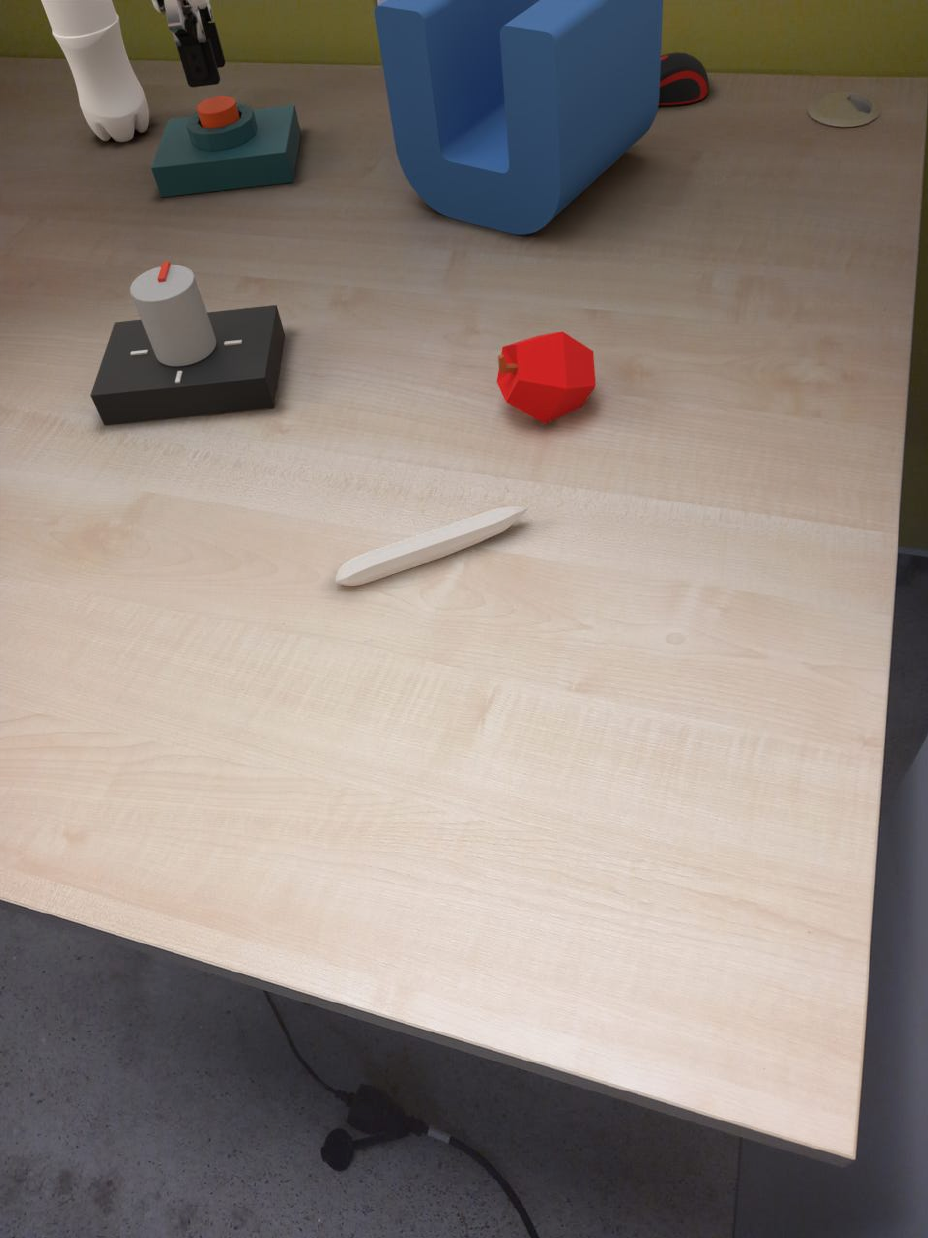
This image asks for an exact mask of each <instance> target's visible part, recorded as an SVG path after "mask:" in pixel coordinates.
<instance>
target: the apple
mask: <svg viewBox="0 0 928 1238" xmlns="http://www.w3.org/2000/svg"><path fill="white" fill-rule="evenodd" d="M594 356H595V355H594V351H593V350H592V349H590V348H589V347H588V346H586V345H584V344H583V343H582V342H580V341H579V340H577V339H576V338H573V337H572V336H571V335H569V334H567V333H566V332H565V331H557V332H556V331H555V332H551V333H545V334H540V335H536V336H533V337H529V338H526V339H523V340H520V341H517V342H513V343H510V344H507V345H504V346H502V347H501V352H500V354H499V355H497V361H498V370H497V376H496V384H497V386H498V388H499V391H500V392H501V395H502V397H503V399H504V402H505V403H506V404H508V405H509V406H511V407H513V408H515V409H517V410H518V411H520V412H522V413H524V414H525V415H527V416H528V417H529V416H530V417H531V418H533V419H535V420H537V421H538V422H540V423H542V424H544V425H545V424H548V423H550V422H553V421H554V420H557V419H559V418H561V417H563V416H565V415H568V414H570V413H573V412H574V411H577V410H579V409H581V408H583V406H584V404H585V402H586V401H587V399H588V398H589V397H590V395H591V394H592V392H593V391H594V390H595V387H596V386H597V383H596V371H595V370H596V369H595V357H594Z"/></svg>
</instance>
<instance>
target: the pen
mask: <svg viewBox="0 0 928 1238" xmlns="http://www.w3.org/2000/svg"><path fill="white" fill-rule="evenodd" d="M529 508H530V507H529V506H522V505H509V506H501V507H496V508H492V509H490V510H486V511H484V512H480V513H478V514H474V515H472V516H468V517H466V518H463V519H460V520H457V521H454V522H451V523H448V524H445V525H442V526H438V527H436V528H433V529H430V530H427V531H425V532H421V533H418V534H415V535H412V536H410V537H407V538H404V539H401V540H397V541H395V542H392V543H389V544H387V545H383V546H381V547H378V548H375V549H372V550H369V551H366V552H364V553H362V554H359V555H357V556H355V557H353V558H350V559H349V560H347V561H345V562H344V563H343V564H342V565H341V566H340V567H339V569H338V571H337V573H336V575H335V579H334V580H335V582H336V583H337V584H339V585H341V586H347V587H357V586H362V585H366V584H369V583H372V582H375V581H377V580H380V579H384V578H386V577H389V576H392V575H395V574H398V573H401V572H404V571H407V570H410V569H413V568H415V567H418V566H421V565H422V566H423V565H424V564H427V563H431V562H433V561H436V560H439V559H442V558H445V557H447V556H450V555H452V554H454V553H455V554H456V553H457V552H460V551H462V550H465V549H467V548H470V547H472V546H474V545H477V544H479V543H481V542H483V541H485V540H488V539H490V538H492V537H494V536H496V535H499V534H500V533H504V532H505V531H506V530H507V529H509V528H510V527H511V526H513V525H514V524H515V523H516V522H517V521H518V520H519V519H520V518H522V517H523V516H524V515H525V514H526V512H527V511H528V510H529Z"/></svg>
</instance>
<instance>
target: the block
mask: <svg viewBox="0 0 928 1238" xmlns="http://www.w3.org/2000/svg"><path fill="white" fill-rule="evenodd" d="M663 16H664V0H385V1H383V2H382V3H380V4H378V5H377V6H376V7H375V8H374V19H375V26H376V33H377V38H378V39H377V40H378V46H379V51H380V57H381V64H382V70H383V76H384V81H385V88H386V96H387V102H388V109H389V114H390V120H391V127H392V134H393V139H394V146H395V152H396V156H397V160H398V163H399V165H400V167H401V171H402V172H403V174H404V176H405V179H406V180H407V181H408V182H407V183H409V186H411V188H412V190H414V192H415V193H416V195H418V197H419V198H420V199H421V200H422V201H423V202H424V203H425V204H426V205H428V207H430V208H431V209H433V210H434V211H436V212H437V213H439V214H441V215H443V216H445V217H447V218H451V219H453V220H458V221H461V222H464V223H468V224H472V225H477V226H479V227H484V228H488V229H490V230H491V229H492V230H495V231H499V232H503V233H507V234H511V235H519V236H520V235H530V234H533V233H536V232H538V231H539V230H541V229H543V228H545V227H546V225H548V224H549V223H550V222H551V221H552V220H554V219H555V217H557V216H558V215H559V214H560V213H561V212H562V211H563V210H564V209H565V208H566V207H567V206H568V205H570V204H571V203H572V202H573V201H574V200H575V199H577V197H579V195H580V194H582V193H583V192H584V191H585V190H586V189H587V188H588V187H589V186H591V185H592V184H593V183H594V182H595V181H596V180H597V179H598V178H599V177H600V176H602V175H603V173H605V172H606V171H607V170H608V169H609V168H610V167H612V165H613V164H615V162H617V161H618V160H619V159H620V158H621V157H622V156H623V155H624V154H625V153H627V152H628V151H629V150H630V149H631V148H633V146H634V145H636V143H637V142H639V141H640V140H641V139H642V138H643V137H644V136H645V135H646V134H647V133H648V132H649V131H650V129H651V126H652V125H653V123H654V122H655V119H656V117H657V115H658V110H659V107H658V106H659V96H660V70H661V56H662V41H663Z"/></svg>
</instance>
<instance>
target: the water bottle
mask: <svg viewBox="0 0 928 1238" xmlns="http://www.w3.org/2000/svg"><path fill="white" fill-rule="evenodd" d="M40 1H41V4H42V6H43V8H44V9H43V10H44V11H45V14H46V16H47V19H48V22H49V25H50V27H51V30H52V32H51V34H52V36H53V37H54V39H55V40H56V42H57V43H58V46H59V47H60V49H61V51H62V52H63V54H64V57H65V58H66V60H67V63H68V66H69V68H70V71H71V73H72V74H71V75H72V77H73V80H74V83H75V88H76V91H77V95H78V100H79V107H80V109H81V111H82V114H83V116H84V118H85V121H86V123H87V125H88V126H89V128H90V129H91V131H92V132H93V133H94V134H95V135H96V136H97V137H98V138H99V139H100V140H101V141H103V142H108V141H110V140H111V138H112V139H113V140H114V141H115V142H118V143H126V142H129V141H131V140H132V139H134V135H135V131H137V133H140V134H142V133H145V132H146V131H147V130H148V127H149V123H150V110H149V105H148V101H147V98H146V94H145V91H144V88H143V86H142V85H141V83H140V81H139V79H138V77H137V75H136V74H135V72H134V68H133V67H132V64H131V62H130V60H129V59H130V58H129V57H128V54H127V51H126V48H125V44H124V40H123V39H124V38H123V36H122V35H123V34H122V31H121V26H120V17H119V15H118V13H117V11H116V8H115V5H114V3H113V0H40Z"/></svg>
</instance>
